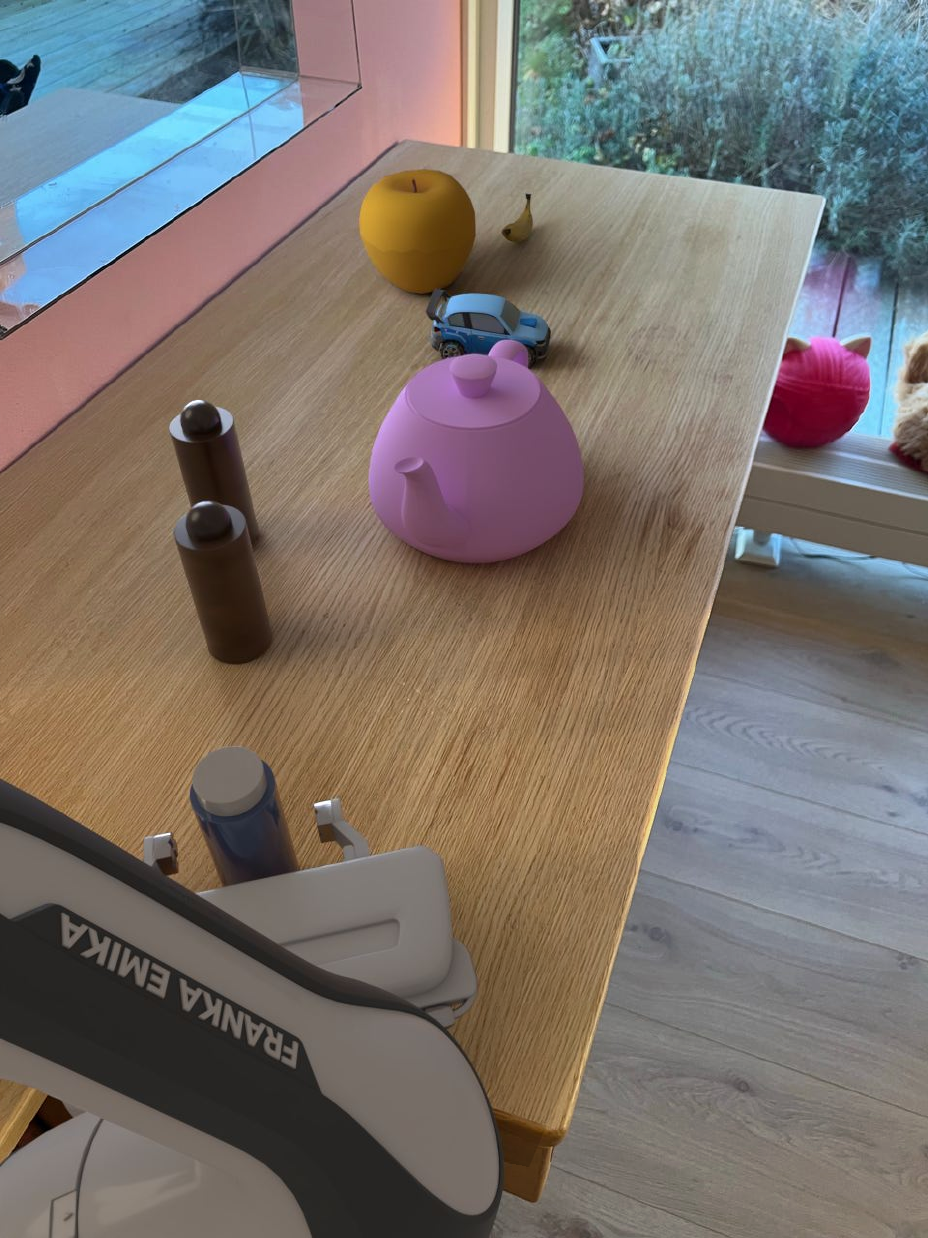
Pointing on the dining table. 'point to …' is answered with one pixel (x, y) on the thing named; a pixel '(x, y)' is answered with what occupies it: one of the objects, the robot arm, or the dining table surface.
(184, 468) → the far mill
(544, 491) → the teapot
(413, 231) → the apple
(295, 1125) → the robot arm
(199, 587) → the near mill
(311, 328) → the dining table surface
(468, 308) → the toy car
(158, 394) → the dining table surface
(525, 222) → the banana
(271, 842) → the blue shaker
